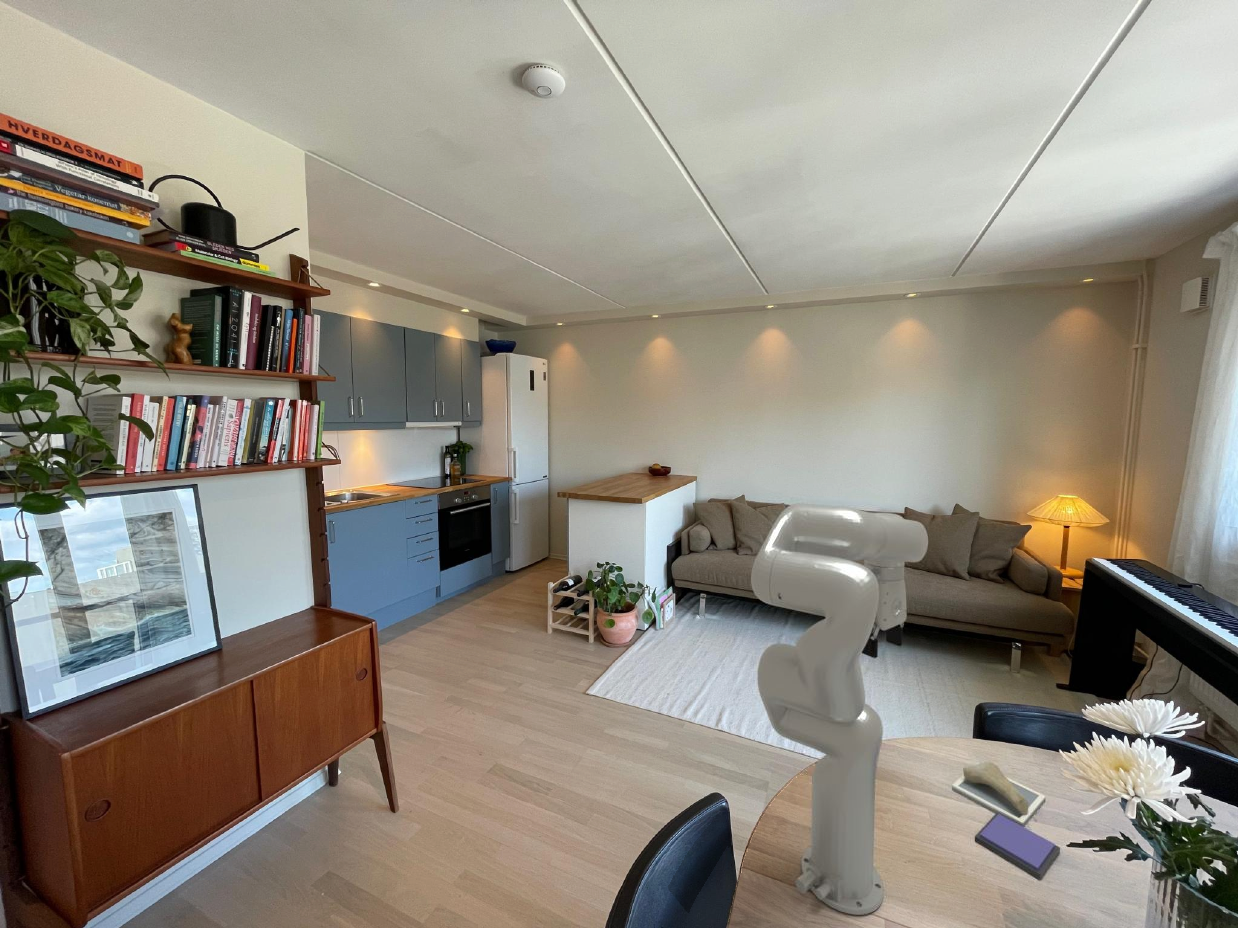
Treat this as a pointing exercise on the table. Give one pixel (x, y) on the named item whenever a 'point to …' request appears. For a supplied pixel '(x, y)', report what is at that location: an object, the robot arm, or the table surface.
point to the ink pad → (1018, 845)
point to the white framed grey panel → (1000, 799)
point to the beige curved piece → (996, 783)
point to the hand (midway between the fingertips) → (882, 649)
